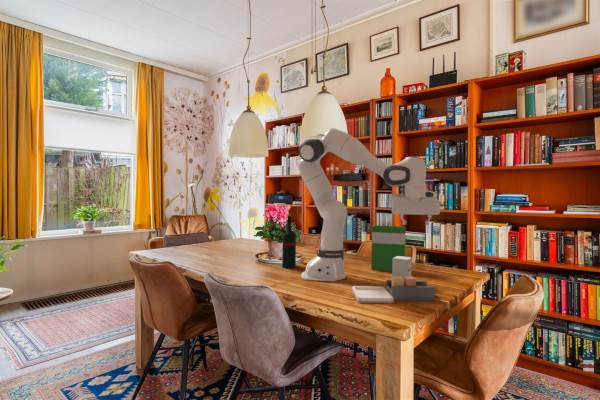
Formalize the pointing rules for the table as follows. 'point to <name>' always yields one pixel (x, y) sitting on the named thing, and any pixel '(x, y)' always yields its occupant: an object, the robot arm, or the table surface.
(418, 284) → the slot block
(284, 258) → the wine bottle
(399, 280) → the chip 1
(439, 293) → the table surface
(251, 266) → the table surface
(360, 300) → the tray
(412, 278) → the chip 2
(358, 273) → the table surface
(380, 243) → the hardback book
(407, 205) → the robot arm
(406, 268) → the supplement box
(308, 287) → the table surface
